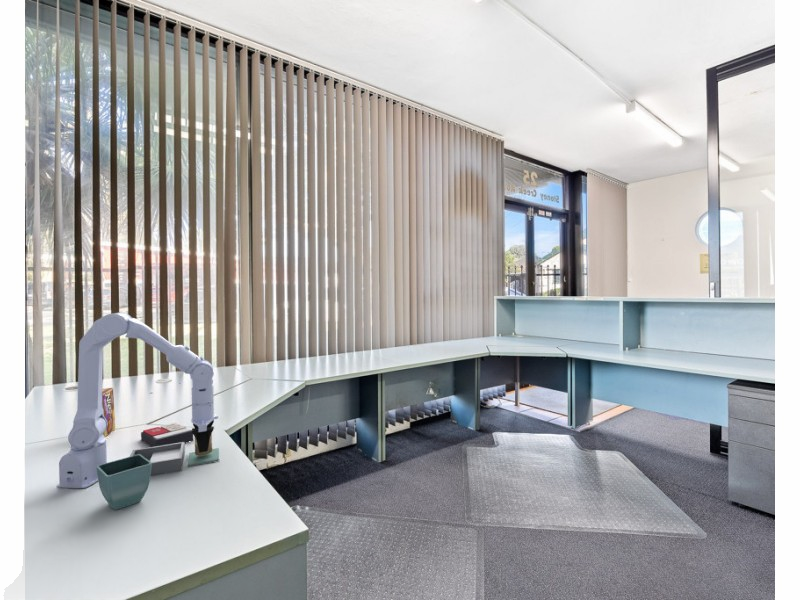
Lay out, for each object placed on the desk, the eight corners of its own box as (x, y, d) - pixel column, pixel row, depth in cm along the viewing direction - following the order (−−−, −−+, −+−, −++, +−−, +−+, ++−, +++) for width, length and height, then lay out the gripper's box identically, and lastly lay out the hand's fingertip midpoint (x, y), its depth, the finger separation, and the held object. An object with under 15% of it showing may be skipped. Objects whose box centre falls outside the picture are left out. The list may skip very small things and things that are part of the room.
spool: (206, 455, 110) (206, 434, 110) (191, 455, 110) (191, 434, 110) (215, 449, 114) (214, 429, 114) (200, 449, 115) (200, 429, 115)
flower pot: (140, 489, 95) (139, 453, 94) (153, 500, 89) (152, 462, 89) (96, 504, 88) (95, 465, 88) (107, 518, 82) (106, 476, 82)
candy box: (101, 430, 137) (100, 388, 137) (115, 429, 138) (114, 387, 138) (89, 439, 128) (88, 394, 128) (104, 438, 130) (103, 393, 129)
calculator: (176, 421, 136) (193, 428, 126) (176, 433, 136) (193, 441, 126) (140, 429, 128) (155, 437, 118) (140, 442, 127) (156, 451, 118)
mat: (187, 466, 107) (187, 464, 107) (189, 454, 115) (189, 452, 115) (219, 461, 110) (219, 459, 110) (218, 449, 118) (218, 447, 118)
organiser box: (123, 481, 98) (123, 468, 98) (133, 462, 110) (133, 449, 110) (181, 470, 104) (181, 458, 104) (184, 453, 116) (184, 441, 116)
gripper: (218, 407, 107) (219, 454, 108) (217, 395, 120) (218, 437, 121) (189, 410, 104) (190, 459, 104) (192, 398, 117) (193, 441, 118)
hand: (203, 448), depth 112 cm, fingers closed on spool, 4 cm apart
